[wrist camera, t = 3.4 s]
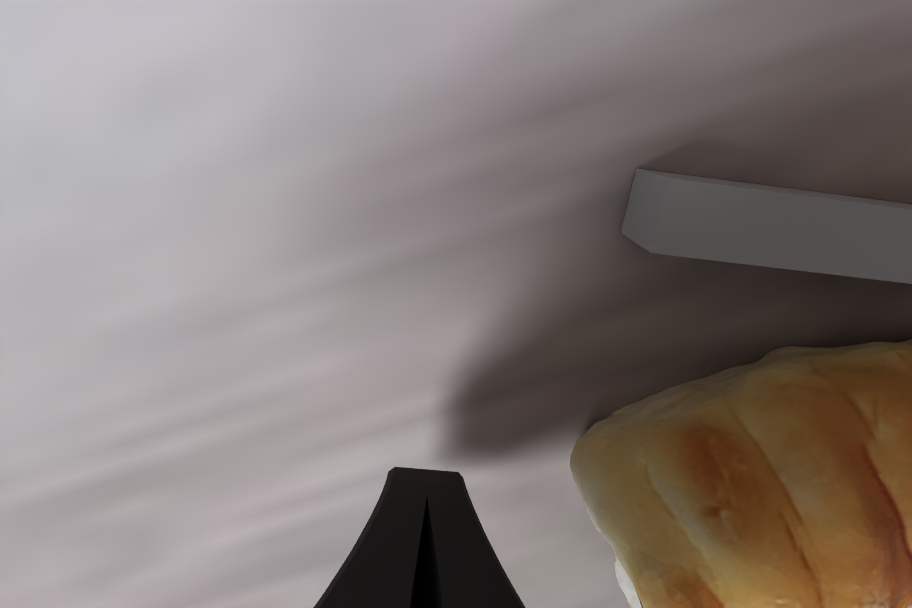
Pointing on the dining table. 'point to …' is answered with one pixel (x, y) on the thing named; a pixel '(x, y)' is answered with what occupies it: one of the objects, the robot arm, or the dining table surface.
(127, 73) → the dining table surface
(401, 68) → the dining table surface
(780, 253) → the bay
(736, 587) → the pastry
